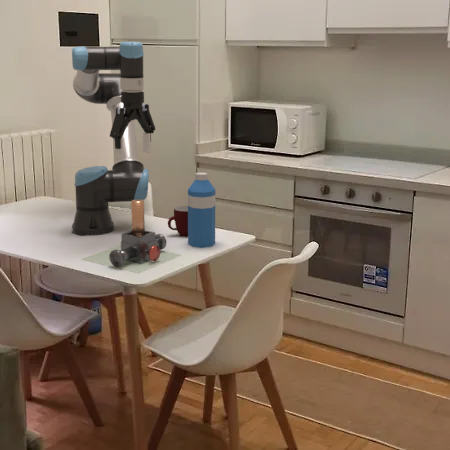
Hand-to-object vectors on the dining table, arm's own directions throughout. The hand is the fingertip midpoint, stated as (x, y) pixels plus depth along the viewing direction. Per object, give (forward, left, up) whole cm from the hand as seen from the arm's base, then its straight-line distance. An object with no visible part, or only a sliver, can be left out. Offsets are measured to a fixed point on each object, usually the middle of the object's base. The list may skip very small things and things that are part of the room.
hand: (133, 155), depth 230 cm
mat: (+10, -13, -31) cm, 35 cm away
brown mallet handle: (+13, -13, -24) cm, 30 cm away
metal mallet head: (+14, -13, -30) cm, 36 cm away
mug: (+8, +17, -31) cm, 36 cm away
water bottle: (+20, +12, -31) cm, 38 cm away
